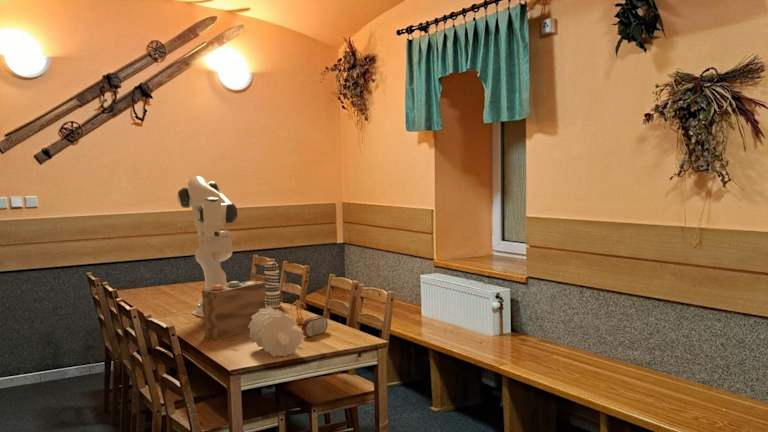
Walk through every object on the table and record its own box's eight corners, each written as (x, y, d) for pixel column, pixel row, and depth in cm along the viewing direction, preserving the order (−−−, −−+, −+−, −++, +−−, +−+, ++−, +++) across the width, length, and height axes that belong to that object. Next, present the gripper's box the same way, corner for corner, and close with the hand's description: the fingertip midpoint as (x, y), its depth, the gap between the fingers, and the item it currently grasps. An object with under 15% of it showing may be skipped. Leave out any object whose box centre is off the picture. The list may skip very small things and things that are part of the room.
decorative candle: (278, 308, 384) (276, 263, 382) (262, 307, 386) (260, 263, 384) (283, 304, 393) (281, 261, 391) (268, 304, 395) (266, 261, 393)
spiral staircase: (275, 369, 280) (257, 352, 302) (311, 345, 287) (290, 330, 309) (255, 333, 275) (238, 318, 297) (292, 309, 281) (272, 297, 303)
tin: (324, 331, 326) (323, 313, 325) (329, 332, 324) (328, 314, 323) (301, 338, 314) (300, 320, 314) (306, 339, 312) (305, 320, 312)
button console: (204, 336, 323) (202, 290, 321) (252, 323, 347) (250, 280, 345) (218, 339, 317) (215, 292, 315) (266, 326, 341) (264, 282, 339)
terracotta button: (209, 291, 322) (209, 286, 322) (218, 289, 326) (218, 284, 326) (216, 292, 319) (216, 286, 319) (225, 290, 323) (224, 285, 323)
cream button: (242, 288, 338) (242, 283, 338) (250, 286, 342) (250, 281, 342) (249, 289, 335) (249, 284, 335) (257, 287, 339) (257, 282, 339)
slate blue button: (226, 287, 330) (226, 282, 330) (234, 286, 334) (234, 281, 333) (233, 288, 327) (233, 283, 326) (241, 286, 331) (241, 281, 330)
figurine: (293, 325, 339) (292, 301, 338) (289, 323, 344) (288, 299, 344) (309, 323, 342) (308, 300, 342) (305, 321, 348) (304, 298, 347)
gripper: (194, 232, 324) (196, 261, 325) (222, 233, 312) (224, 263, 313) (205, 230, 329) (207, 259, 330) (233, 231, 317) (235, 261, 318)
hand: (215, 261), depth 321 cm, fingers closed
